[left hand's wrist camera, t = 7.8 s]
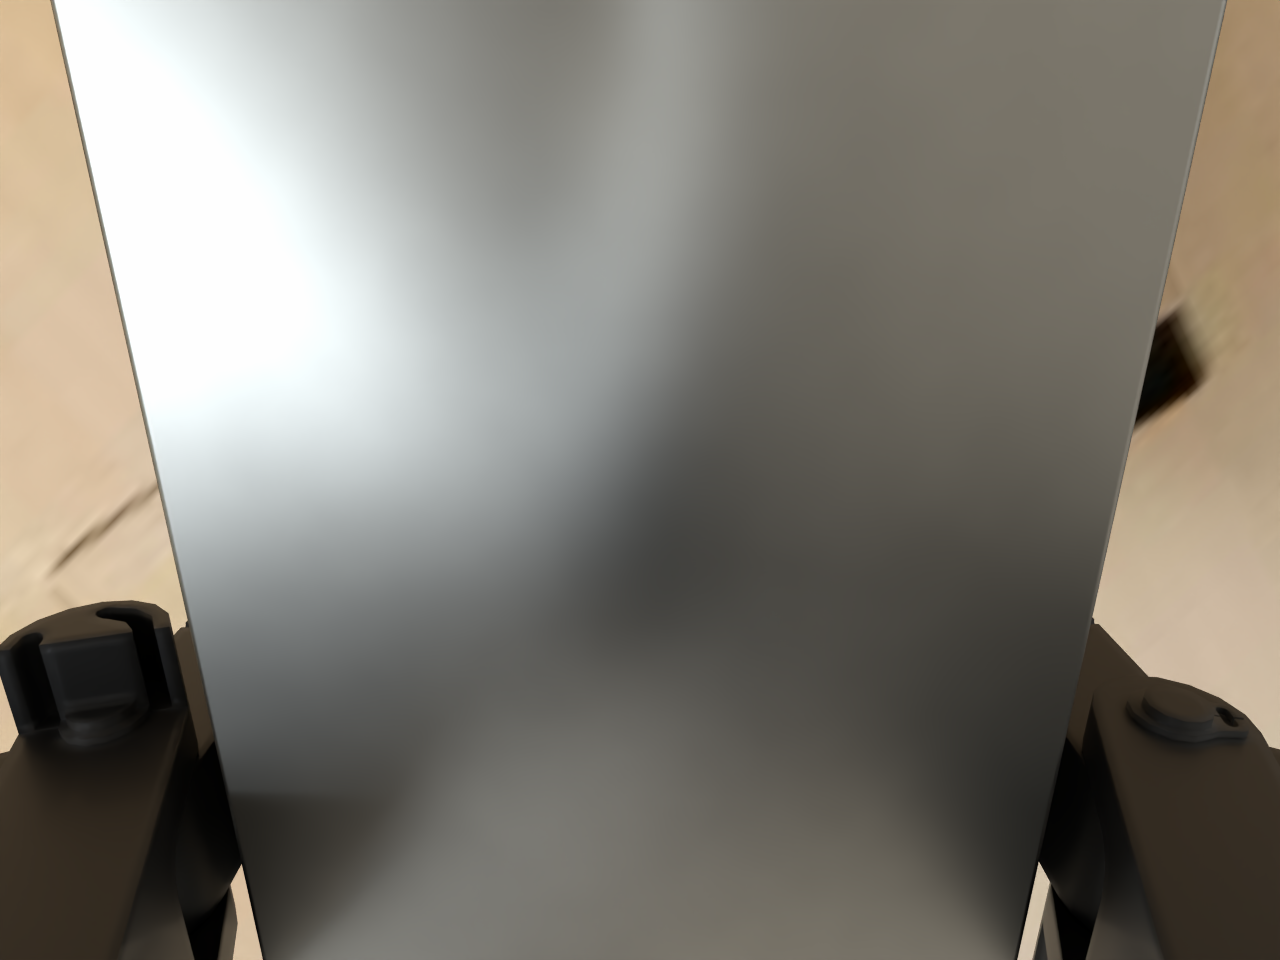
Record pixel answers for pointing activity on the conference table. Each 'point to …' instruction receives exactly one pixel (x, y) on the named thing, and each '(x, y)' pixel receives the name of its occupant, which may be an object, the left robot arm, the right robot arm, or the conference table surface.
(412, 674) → the box
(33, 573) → the conference table surface
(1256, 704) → the conference table surface
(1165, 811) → the left robot arm
